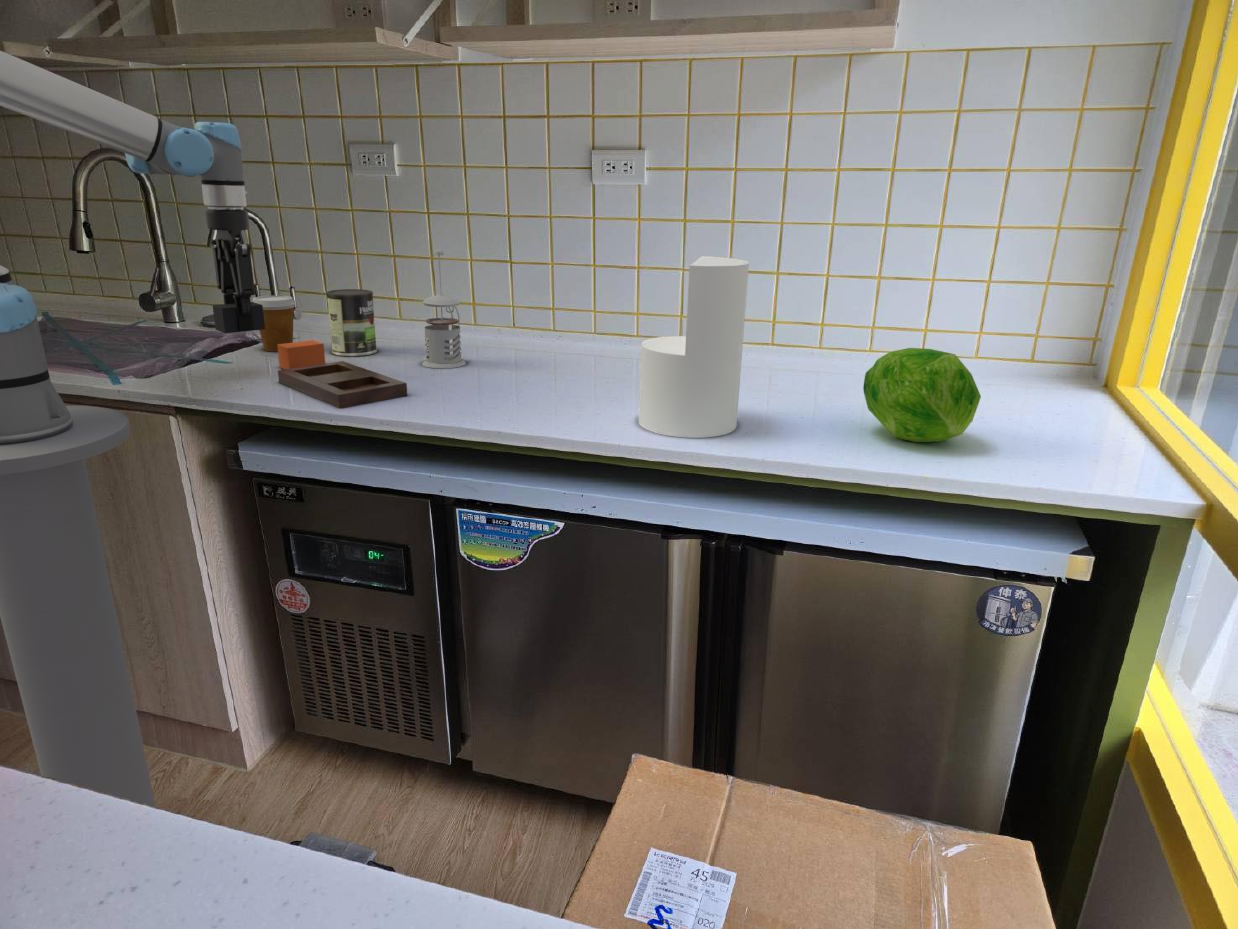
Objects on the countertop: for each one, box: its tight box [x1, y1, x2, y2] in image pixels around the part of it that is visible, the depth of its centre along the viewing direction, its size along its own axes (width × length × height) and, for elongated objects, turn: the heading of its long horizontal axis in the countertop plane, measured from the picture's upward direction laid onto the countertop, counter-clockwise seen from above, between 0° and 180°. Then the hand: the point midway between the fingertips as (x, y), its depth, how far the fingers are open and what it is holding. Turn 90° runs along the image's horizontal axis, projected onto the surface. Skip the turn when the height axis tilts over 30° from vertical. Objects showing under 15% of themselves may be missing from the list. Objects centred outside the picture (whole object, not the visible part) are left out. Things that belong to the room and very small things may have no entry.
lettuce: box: [862, 347, 982, 443], centre depth 137 cm, size 17×20×17 cm
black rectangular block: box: [212, 301, 265, 334], centre depth 166 cm, size 8×5×5 cm, turn 135°
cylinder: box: [638, 255, 750, 439], centre depth 140 cm, size 17×17×28 cm
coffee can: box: [325, 288, 378, 357], centre depth 191 cm, size 10×10×14 cm
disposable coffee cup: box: [252, 295, 296, 353], centre depth 193 cm, size 10×10×12 cm
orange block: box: [277, 339, 326, 370], centre depth 177 cm, size 8×5×5 cm, turn 135°
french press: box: [421, 248, 467, 369], centre depth 181 cm, size 10×12×25 cm
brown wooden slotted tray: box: [277, 360, 408, 409], centre depth 160 cm, size 14×25×2 cm, turn 45°
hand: (240, 327), depth 166 cm, fingers closed on black rectangular block, 5 cm apart
